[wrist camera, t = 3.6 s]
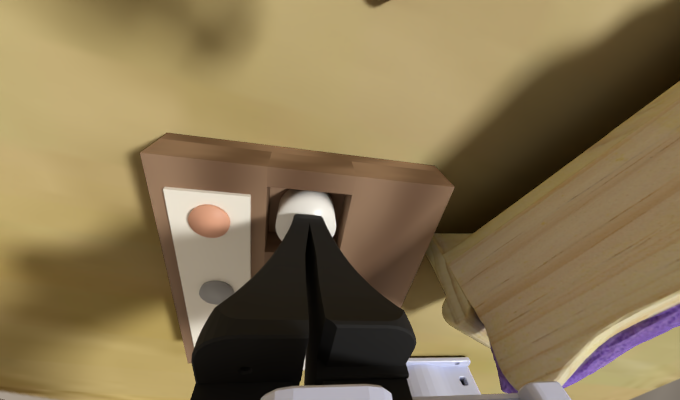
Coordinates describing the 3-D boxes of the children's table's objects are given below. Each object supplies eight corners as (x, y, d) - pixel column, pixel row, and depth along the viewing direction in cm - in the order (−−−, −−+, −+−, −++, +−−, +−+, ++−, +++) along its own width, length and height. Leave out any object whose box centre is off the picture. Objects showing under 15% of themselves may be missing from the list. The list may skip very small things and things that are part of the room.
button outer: (337, 187, 14) (340, 205, 13) (329, 231, 16) (331, 251, 14) (280, 182, 14) (277, 199, 12) (277, 228, 15) (274, 248, 14)
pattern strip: (250, 194, 12) (249, 199, 12) (251, 351, 19) (249, 357, 19) (165, 186, 12) (160, 191, 11) (196, 351, 18) (194, 357, 18)
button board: (434, 165, 15) (454, 187, 13) (370, 331, 24) (377, 360, 21) (167, 132, 13) (139, 152, 11) (200, 330, 21) (188, 363, 19)
